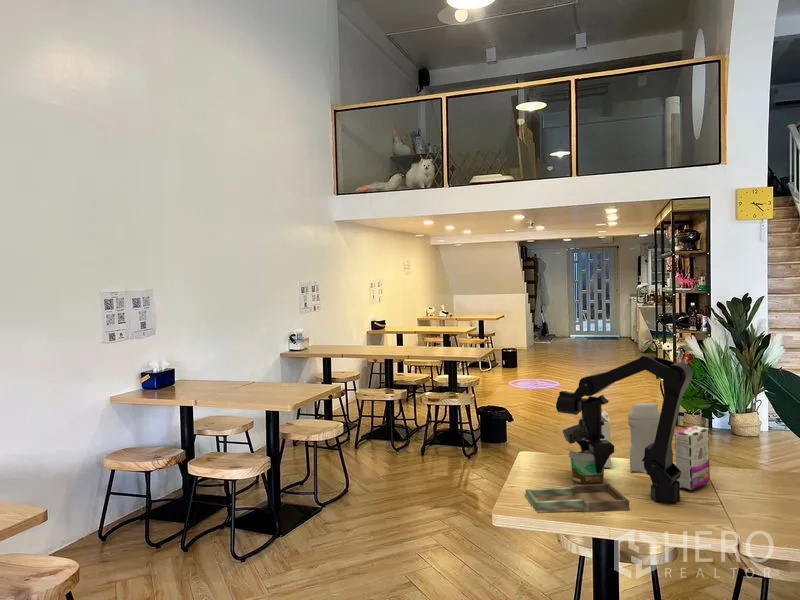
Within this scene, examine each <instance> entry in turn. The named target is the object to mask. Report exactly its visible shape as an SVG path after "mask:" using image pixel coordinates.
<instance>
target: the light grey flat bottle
mask: <svg viewBox="0 0 800 600" xmlns="http://www.w3.org/2000/svg"><path fill="white" fill-rule="evenodd" d="M631 407H632V408H631V411H630V413H628V415H627V416H628V417H627V421H628V426H629V427H630V428H629V431H630V443H631V444H630V448H629V471H630V472H632V473H633V472H634V473H645V474H646V473H647V474H649V473H648V472H647V471H646V470H645V468H644V461H642V460H643V458H644V455H645V447H647V446H648V445H650V444H651V443H654V442H655V437H656V433H657V428H658V423H659V419H660V414H661V411H660V409H659V407H658V404H657V403H650V402H641V403H640V402H639V403H634V404H632V406H631Z"/></svg>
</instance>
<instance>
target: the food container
mask: <svg viewBox="0 0 800 600" xmlns="http://www.w3.org/2000/svg"><path fill="white" fill-rule="evenodd" d="M589 451H590V450H584V451H581V450H580V451H577V452H576V451H573V450H569V453H568V458H570V466H571V473H572V483H574V484H576V483H577V484H576V485H579V484H580V485H592V484H604V475H605V473H604V472H605V467H603V469H602V471H601V473H596V468H595V461H594V456H593V455H592V454H591V453H590V452H589Z"/></svg>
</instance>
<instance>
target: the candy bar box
mask: <svg viewBox="0 0 800 600" xmlns="http://www.w3.org/2000/svg"><path fill="white" fill-rule="evenodd" d="M709 431H710V430H709V427H703V426H698V425H692V426H689V427H686V428H684V429H681V430H678V431H674V444H675V446H674V447H675V449H674V450H675V465H676V466H677V468H678V469H679V470H680V471H681V472H682V473H681V475H680V478H679V479H677V481H679V482H680V489H681V488H682V489H685V490H686V489H687V490H689V491H693V490H696V489H697V488H700V487H701V486H704V485H705V484H707V483H709V482H711V480H710V479H711V474H710V471H711V470H710V438H709V437H710V436H709V435H710V434H709Z"/></svg>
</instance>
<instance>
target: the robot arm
mask: <svg viewBox="0 0 800 600" xmlns="http://www.w3.org/2000/svg"><path fill="white" fill-rule="evenodd" d="M643 371H647V372H649V373H650V374H653V376H656V377H658V378H660V379H662V387H663V392H664V397H663V400H662V401H663V402H662V406H661V410H660V413H661V414H660V419H659V423H658V428H657V433H656V437H655V442H654V443H651V444H650V445H648V446H647V447H645V455H644V458H643V460H642V461H644V468H645V470H646V471H647V472H648V473H647V474H649V477H650V480H651V484H650V499H651V501H653V502H654V503H655V504H656V503H657V504H664V505H675V504H677V503H680V502H681V487H680V482H679V481H677V479H679V478H680V475H681V473H682V472H681V471H680V470H679V469H678V468H677V466H676V463H674V452H673V446H672V442H673V439H674V436H675V429H676V424H677V420H678V416H679V412H680V407H681V404H682V400H683V399H682V398H683V396H684V394H685V393H686V391H687V389H688V387H689V386H690V383H691V380H692V378H693V376H694V372H693V371H694V370H693V368H691V366H690V365H689V364H688V363H685V362H683V361H682V362H675V361H672V360H669V359H665V358H661V357H658V356H655V355H653V354H652V353H651V354H650V353H649V354H648V353H647V354H645V355H641V356H640V357H639V358H636V359H635V360H632V361H629V362H628V363H625V364H623V365H621V366H618V367H616V368H613V369H611V370H609V371H605V372H604V371H603V372H598V373H595V374H590V375H587V376H584V377H582V378H580V380H579V381H578V387H577V388H576V389H575V390H574V392H571V391H569V392H568V391H566V390H561V391H559V393H558V394H559V395H558V397H557V400H556V403H555V408H556V411H557V413H561V414H566V415H573V416H574V415H575V416H577V415H579V413H581V418H579V420H578V424H576V425H573V426H570V427H567V428H564V429H563V430H562V434H563V438H564V439H565V441H566V442H568V444H571V445H572V444H574V443H577V444H578V446H579V448H580V452H581V451H584V450H590V451H589V452H590V453H591V454H592V455H593V456H594V461H595V468H596V473H601V471H602V469H603V467H604V465H605V463H606V461H607V460H608V458H609V456H611V455H613V454H614V453H615V445H614V444H613V443H612V442H611V441H610V442H609V441H607V440H600V439H604V435H603V434H602V425H604V422H603V421H602V412H603V409H602V406H603V405H607V404H608V403H610V401H609V399H607V398H606V397H605V396H604V394H601V395H599V396H594V395H597V394H599V393H601V392H603V391H605V390H606V389H608V388H609V387H610V386H612V385H613V384H615V383H616V382H619V381H622V380H623V379H626V378H629V377H631V376H633V375H636V374H638V373H641V372H643ZM583 397H587V398H583ZM604 468H605V467H604Z"/></svg>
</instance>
